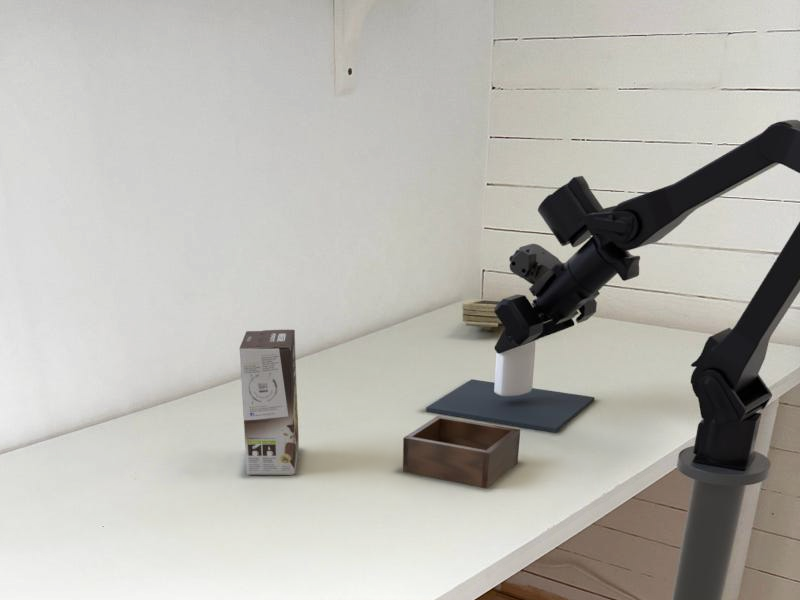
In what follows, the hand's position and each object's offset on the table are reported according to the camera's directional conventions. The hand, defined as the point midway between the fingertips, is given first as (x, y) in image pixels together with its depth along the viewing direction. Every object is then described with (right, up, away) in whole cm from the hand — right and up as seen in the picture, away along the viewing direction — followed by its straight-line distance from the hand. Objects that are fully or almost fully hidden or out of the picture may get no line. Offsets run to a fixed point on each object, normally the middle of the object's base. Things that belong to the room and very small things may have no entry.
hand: (508, 346), depth 143 cm
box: (+5, +17, +45) cm, 48 cm away
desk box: (-9, -20, -17) cm, 28 cm away
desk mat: (+1, -8, +4) cm, 9 cm away
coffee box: (-33, -19, -14) cm, 41 cm away
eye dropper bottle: (+1, -6, +3) cm, 7 cm away
